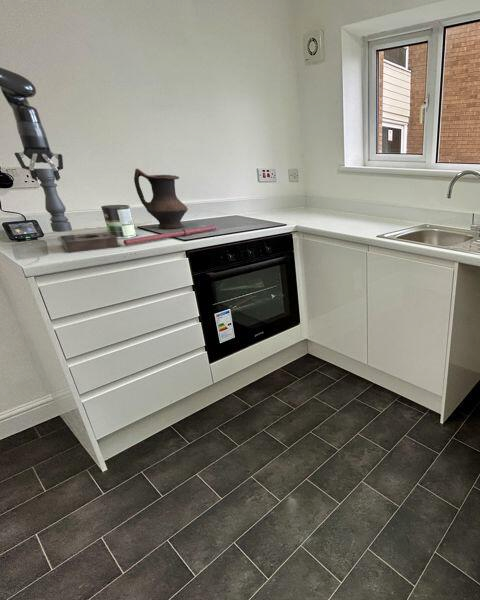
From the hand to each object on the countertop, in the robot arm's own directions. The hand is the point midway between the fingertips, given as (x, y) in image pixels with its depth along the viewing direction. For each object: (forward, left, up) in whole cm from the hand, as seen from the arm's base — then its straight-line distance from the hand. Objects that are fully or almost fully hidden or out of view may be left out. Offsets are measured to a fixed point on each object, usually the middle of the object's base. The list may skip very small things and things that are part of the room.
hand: (46, 180), depth 143 cm
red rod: (+37, -17, -26) cm, 48 cm away
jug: (+43, +13, -26) cm, 52 cm away
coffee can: (+20, -1, -26) cm, 33 cm away
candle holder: (0, 0, -21) cm, 21 cm away
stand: (+6, -16, -25) cm, 31 cm away
